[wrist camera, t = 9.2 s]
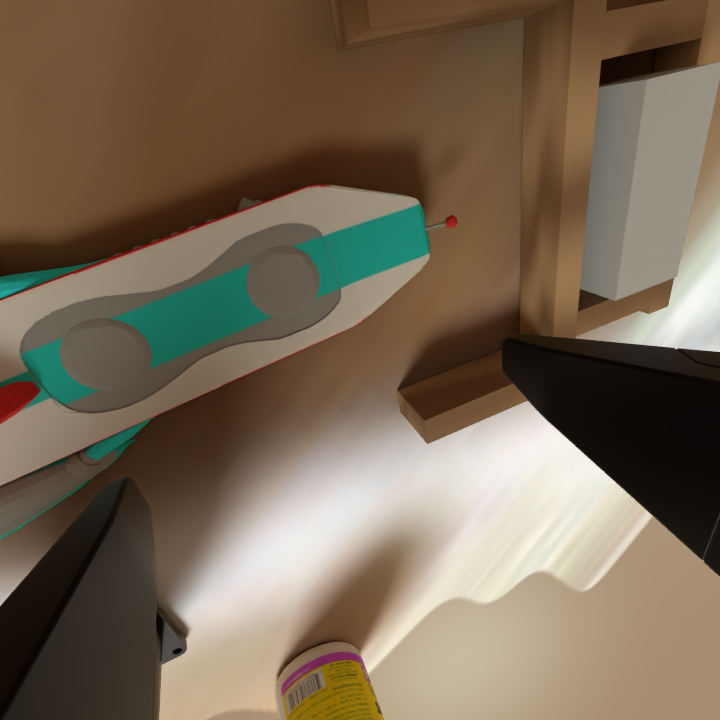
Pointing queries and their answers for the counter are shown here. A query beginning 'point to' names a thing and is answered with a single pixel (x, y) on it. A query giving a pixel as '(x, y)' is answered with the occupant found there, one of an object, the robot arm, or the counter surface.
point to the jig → (542, 161)
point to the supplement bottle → (327, 686)
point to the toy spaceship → (183, 325)
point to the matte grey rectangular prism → (644, 177)
